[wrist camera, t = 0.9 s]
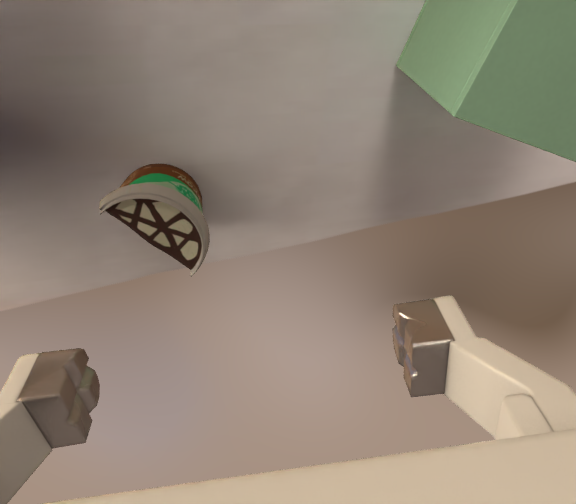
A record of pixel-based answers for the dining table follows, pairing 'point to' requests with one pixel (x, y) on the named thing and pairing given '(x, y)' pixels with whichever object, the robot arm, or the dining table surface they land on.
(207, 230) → the food container
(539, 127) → the green box
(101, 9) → the dining table surface
